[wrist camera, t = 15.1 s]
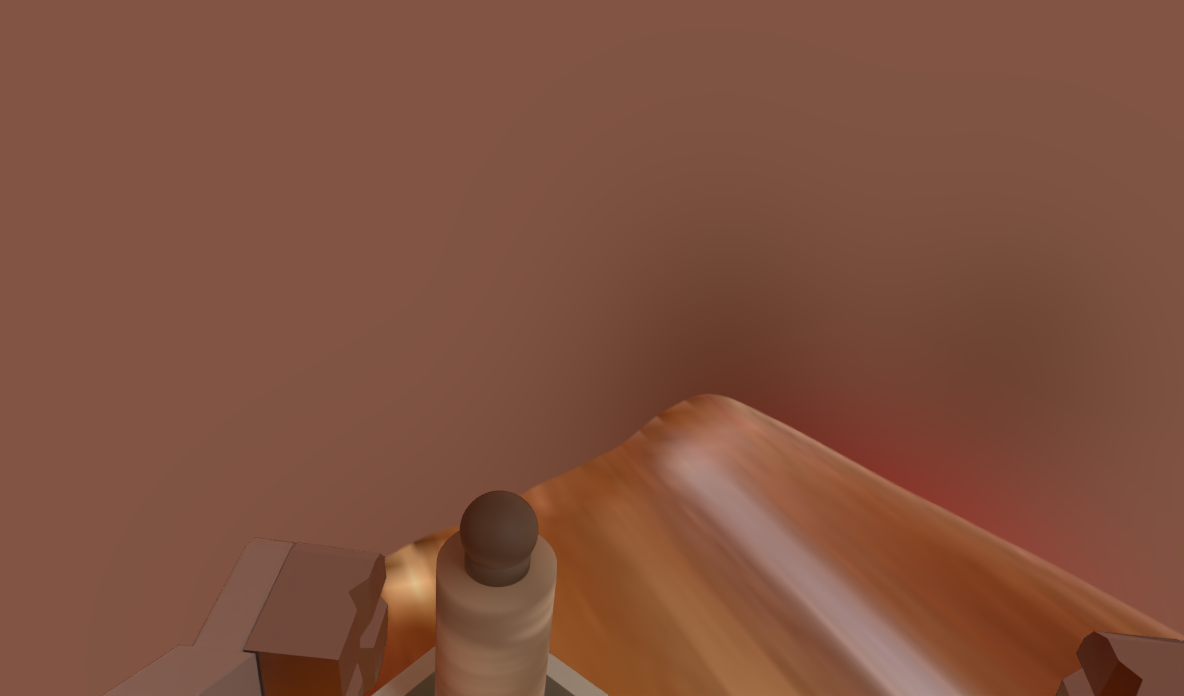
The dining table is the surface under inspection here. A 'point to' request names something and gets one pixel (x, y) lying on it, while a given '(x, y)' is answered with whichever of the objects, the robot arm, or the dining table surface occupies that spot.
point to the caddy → (416, 683)
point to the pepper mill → (494, 602)
